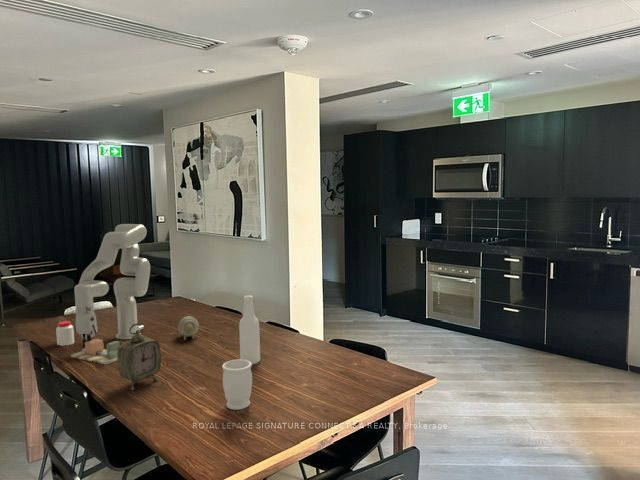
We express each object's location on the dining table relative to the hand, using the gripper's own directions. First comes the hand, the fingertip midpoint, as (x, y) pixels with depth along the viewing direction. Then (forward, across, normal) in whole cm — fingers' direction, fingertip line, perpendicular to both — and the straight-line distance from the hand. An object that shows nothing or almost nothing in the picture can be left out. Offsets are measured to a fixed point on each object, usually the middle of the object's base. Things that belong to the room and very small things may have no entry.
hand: (87, 347), depth 222 cm
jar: (+3, -98, +12) cm, 99 cm away
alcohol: (+3, -77, -25) cm, 81 cm away
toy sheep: (+4, -26, -41) cm, 48 cm away
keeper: (+2, -5, 0) cm, 5 cm away
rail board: (+3, -8, 0) cm, 9 cm away
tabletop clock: (+3, -51, +14) cm, 53 cm away
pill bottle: (+3, +25, -6) cm, 26 cm away
